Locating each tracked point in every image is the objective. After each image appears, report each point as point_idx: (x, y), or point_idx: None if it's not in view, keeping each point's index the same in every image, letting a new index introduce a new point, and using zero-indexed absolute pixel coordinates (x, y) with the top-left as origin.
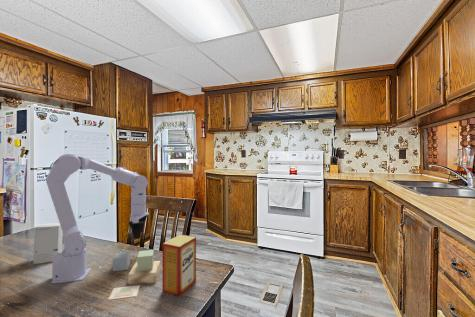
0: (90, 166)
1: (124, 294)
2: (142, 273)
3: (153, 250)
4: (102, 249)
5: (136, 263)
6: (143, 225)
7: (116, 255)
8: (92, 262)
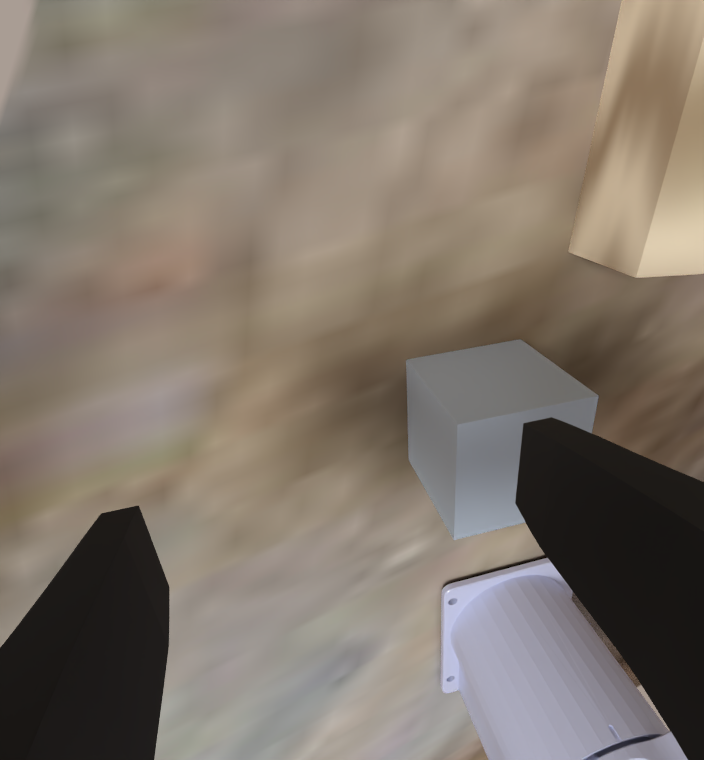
0: None
1: None
2: None
3: None
4: None
5: (675, 259)
6: (79, 659)
7: (512, 514)
8: (325, 632)
